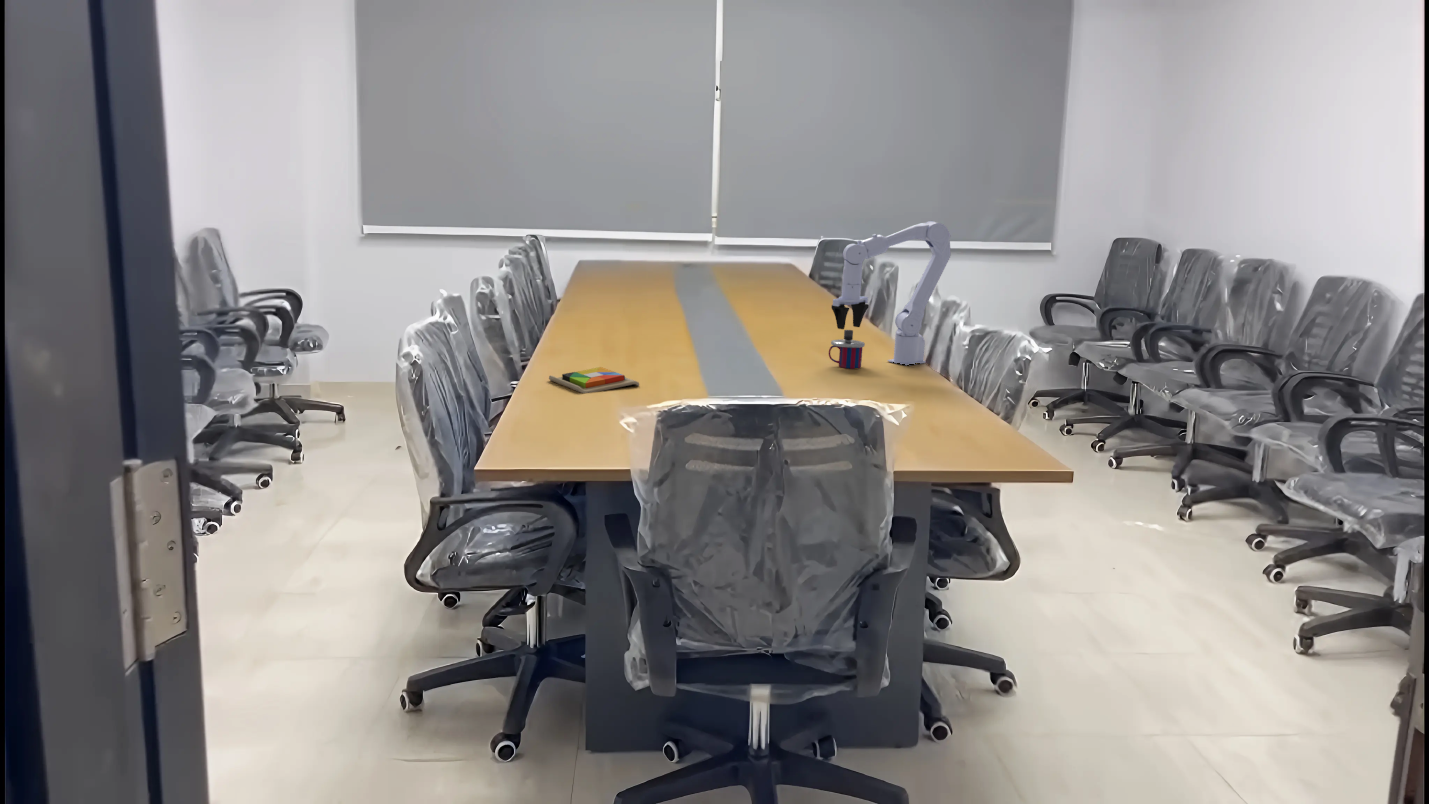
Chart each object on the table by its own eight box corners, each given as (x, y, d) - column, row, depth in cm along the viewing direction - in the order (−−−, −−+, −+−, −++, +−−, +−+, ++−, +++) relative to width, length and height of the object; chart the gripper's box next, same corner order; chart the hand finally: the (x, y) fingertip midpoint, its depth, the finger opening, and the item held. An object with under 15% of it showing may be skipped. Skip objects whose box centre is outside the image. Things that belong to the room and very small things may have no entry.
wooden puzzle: (546, 382, 291) (546, 369, 291) (607, 376, 303) (607, 363, 302) (579, 395, 278) (579, 382, 277) (641, 388, 289) (641, 375, 288)
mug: (861, 369, 324) (863, 347, 323) (827, 367, 325) (829, 345, 323) (860, 365, 331) (862, 343, 329) (827, 363, 331) (829, 341, 330)
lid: (845, 340, 332) (846, 326, 332) (871, 345, 326) (872, 331, 325) (824, 343, 326) (825, 329, 325) (850, 349, 319) (851, 334, 318)
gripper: (856, 280, 338) (853, 324, 341) (826, 283, 328) (823, 327, 332) (874, 283, 333) (871, 327, 336) (844, 286, 323) (841, 331, 327)
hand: (848, 327), depth 334 cm, fingers open, 7 cm apart
